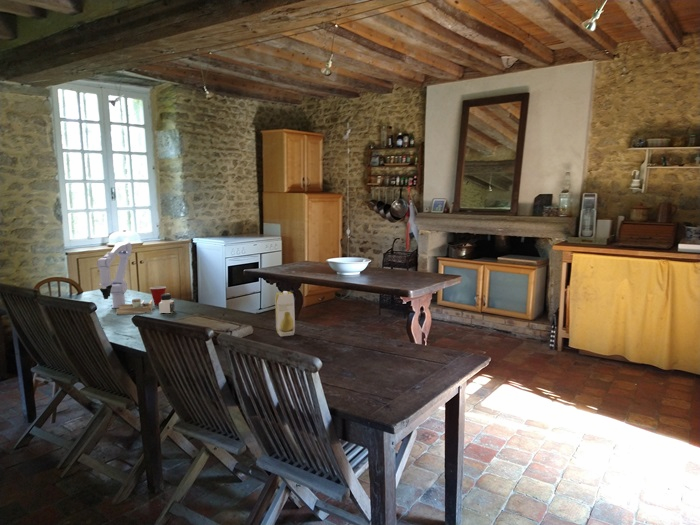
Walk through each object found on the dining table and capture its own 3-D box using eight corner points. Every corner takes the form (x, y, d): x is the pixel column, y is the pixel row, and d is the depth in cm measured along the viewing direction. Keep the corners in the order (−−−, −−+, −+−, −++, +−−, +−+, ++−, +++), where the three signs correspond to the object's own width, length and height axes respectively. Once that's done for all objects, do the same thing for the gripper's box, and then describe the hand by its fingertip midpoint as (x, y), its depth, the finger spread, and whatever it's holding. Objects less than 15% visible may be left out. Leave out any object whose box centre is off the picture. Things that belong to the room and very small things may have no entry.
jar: (132, 309, 316) (131, 299, 315) (141, 308, 318) (140, 298, 317) (133, 311, 312) (132, 300, 310) (141, 310, 314) (140, 300, 313)
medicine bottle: (170, 314, 307) (169, 295, 305) (159, 314, 307) (158, 295, 305) (174, 311, 314) (173, 292, 312) (163, 311, 314) (162, 292, 313)
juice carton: (279, 337, 258) (277, 293, 254) (275, 333, 265) (274, 290, 261) (296, 335, 262) (295, 291, 258) (291, 331, 269) (290, 288, 265)
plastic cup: (167, 301, 340) (166, 284, 338) (167, 305, 330) (166, 287, 328) (151, 302, 337) (149, 285, 335) (150, 306, 327) (148, 288, 325)
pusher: (142, 307, 320) (142, 300, 319) (144, 307, 320) (144, 300, 320) (141, 311, 311) (140, 303, 311) (143, 310, 312) (142, 303, 311)
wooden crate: (120, 310, 318) (119, 301, 317) (152, 307, 323) (152, 299, 322) (116, 314, 306) (116, 306, 305) (151, 312, 312) (150, 303, 311)
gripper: (100, 275, 315) (102, 295, 317) (96, 279, 302) (98, 300, 304) (112, 274, 317) (114, 295, 320) (108, 278, 304) (110, 299, 306)
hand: (107, 297), depth 312 cm, fingers open, 7 cm apart
